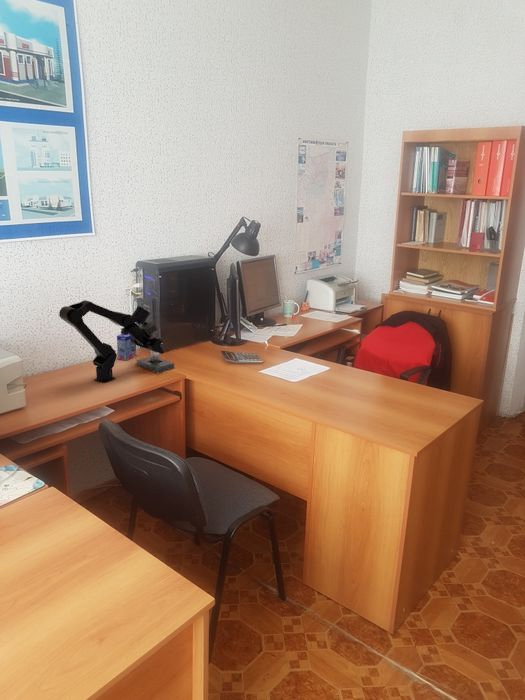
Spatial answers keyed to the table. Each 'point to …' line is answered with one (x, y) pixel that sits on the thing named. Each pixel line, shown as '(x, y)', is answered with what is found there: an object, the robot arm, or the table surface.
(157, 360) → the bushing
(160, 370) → the jig
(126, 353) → the ink cartridge box
